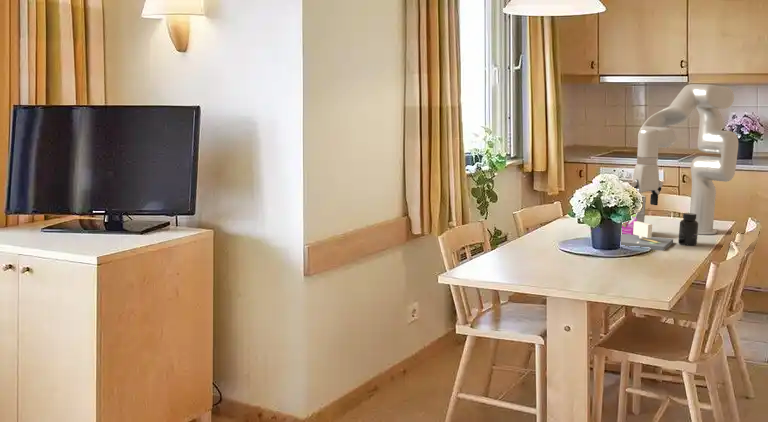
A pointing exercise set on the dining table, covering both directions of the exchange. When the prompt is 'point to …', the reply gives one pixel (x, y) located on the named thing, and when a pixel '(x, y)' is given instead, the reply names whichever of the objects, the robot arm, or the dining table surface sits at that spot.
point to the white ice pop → (643, 230)
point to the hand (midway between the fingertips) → (644, 205)
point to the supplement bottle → (688, 230)
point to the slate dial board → (646, 242)
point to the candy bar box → (628, 226)
